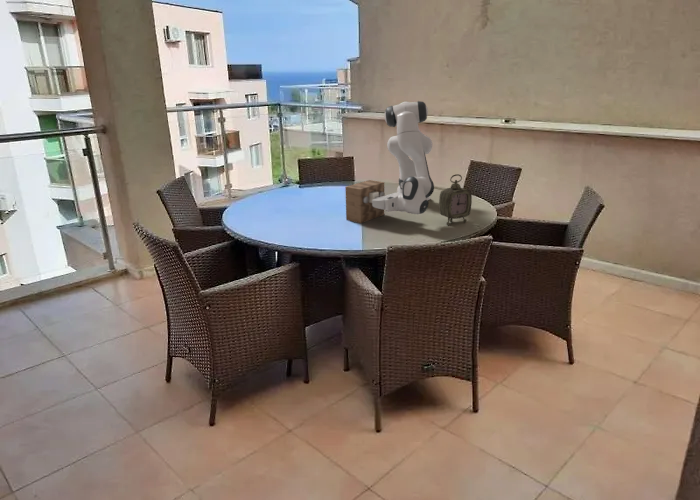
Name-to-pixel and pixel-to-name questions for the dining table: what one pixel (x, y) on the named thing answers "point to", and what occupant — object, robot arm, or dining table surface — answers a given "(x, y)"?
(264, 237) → the dining table surface
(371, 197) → the cream button
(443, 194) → the tabletop clock
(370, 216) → the wooden block with knobs
